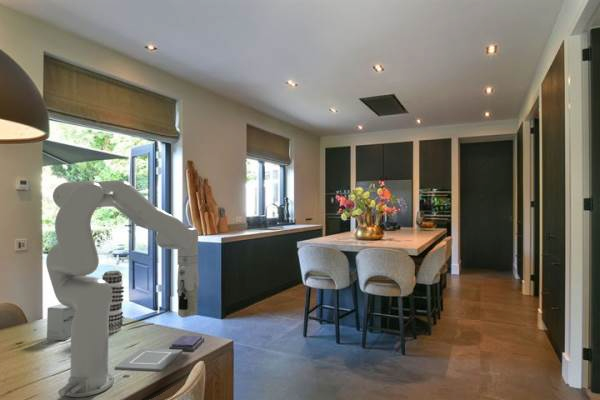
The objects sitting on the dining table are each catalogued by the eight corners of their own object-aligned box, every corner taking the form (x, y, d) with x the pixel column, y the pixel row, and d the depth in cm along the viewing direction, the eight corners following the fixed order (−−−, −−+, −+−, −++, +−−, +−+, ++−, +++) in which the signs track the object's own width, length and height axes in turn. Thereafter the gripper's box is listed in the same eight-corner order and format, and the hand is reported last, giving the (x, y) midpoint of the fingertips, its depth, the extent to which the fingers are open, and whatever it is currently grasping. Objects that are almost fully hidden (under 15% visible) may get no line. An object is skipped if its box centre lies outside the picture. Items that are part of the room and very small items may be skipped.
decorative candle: (94, 331, 152) (95, 272, 153) (113, 325, 161) (114, 269, 162) (109, 334, 149) (110, 273, 150) (128, 327, 157) (128, 270, 158)
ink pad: (193, 350, 131) (193, 345, 131) (169, 349, 132) (169, 344, 132) (204, 340, 142) (204, 335, 142) (181, 339, 143) (181, 335, 143)
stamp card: (161, 370, 115) (161, 368, 115) (114, 368, 117) (114, 366, 117) (183, 351, 131) (183, 349, 131) (141, 349, 132) (141, 347, 133)
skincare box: (193, 312, 141) (193, 281, 141) (197, 314, 138) (197, 283, 138) (177, 315, 137) (177, 283, 137) (181, 318, 134) (181, 285, 134)
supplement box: (61, 340, 142) (62, 308, 143) (46, 339, 144) (46, 307, 144) (76, 334, 149) (77, 303, 150) (61, 333, 151) (62, 302, 151)
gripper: (187, 263, 129) (187, 313, 128) (205, 257, 146) (205, 300, 146) (167, 263, 130) (167, 312, 129) (187, 257, 147) (187, 300, 146)
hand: (187, 306), depth 137 cm, fingers closed on skincare box, 7 cm apart
